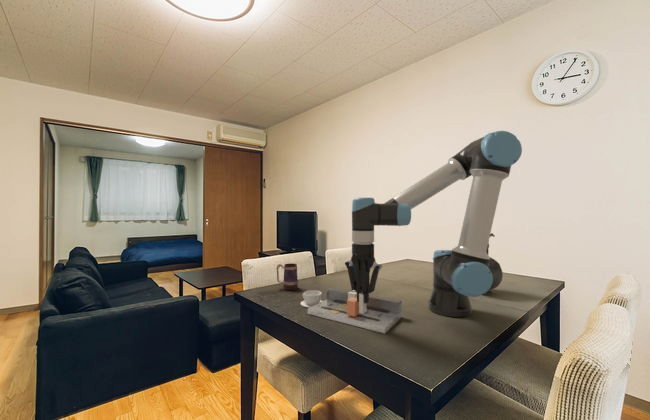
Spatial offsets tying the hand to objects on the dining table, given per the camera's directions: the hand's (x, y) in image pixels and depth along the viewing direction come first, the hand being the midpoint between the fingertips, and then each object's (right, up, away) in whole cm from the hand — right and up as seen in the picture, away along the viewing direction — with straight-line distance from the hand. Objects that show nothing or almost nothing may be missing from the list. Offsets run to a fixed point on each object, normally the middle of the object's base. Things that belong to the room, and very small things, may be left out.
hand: (362, 311), depth 99 cm
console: (-2, -4, +7) cm, 8 cm away
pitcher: (+59, -3, +36) cm, 69 cm away
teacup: (-18, -4, +19) cm, 27 cm away
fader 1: (-2, -1, +11) cm, 11 cm away
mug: (-31, -4, +41) cm, 52 cm away
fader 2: (-3, -1, +2) cm, 4 cm away
